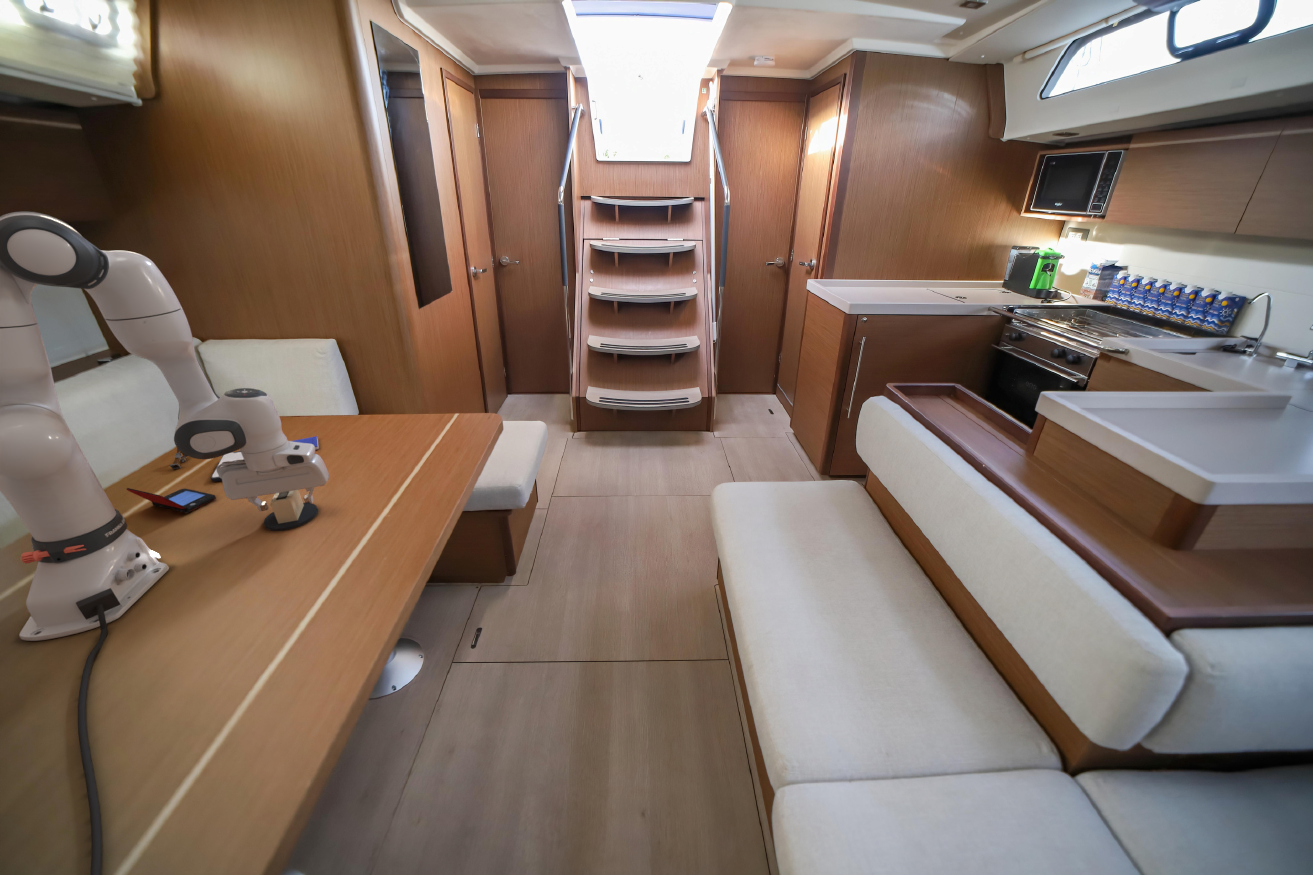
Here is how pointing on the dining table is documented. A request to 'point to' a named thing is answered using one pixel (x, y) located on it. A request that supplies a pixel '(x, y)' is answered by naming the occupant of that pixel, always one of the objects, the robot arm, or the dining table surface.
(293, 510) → the beige block
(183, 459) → the grey jointed piece
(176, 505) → the handheld console
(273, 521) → the mat
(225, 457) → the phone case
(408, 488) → the dining table surface
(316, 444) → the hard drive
